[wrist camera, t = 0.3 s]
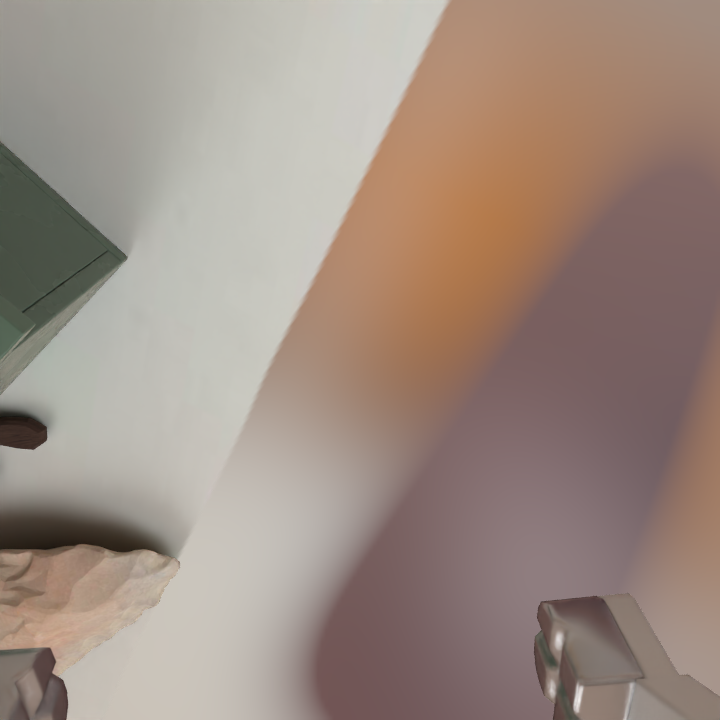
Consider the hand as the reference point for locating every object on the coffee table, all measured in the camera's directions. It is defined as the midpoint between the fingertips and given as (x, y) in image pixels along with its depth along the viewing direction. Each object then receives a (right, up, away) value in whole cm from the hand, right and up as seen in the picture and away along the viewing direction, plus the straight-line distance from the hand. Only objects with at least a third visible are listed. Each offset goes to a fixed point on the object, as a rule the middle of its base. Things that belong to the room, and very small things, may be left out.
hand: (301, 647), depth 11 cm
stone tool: (-23, -12, +27) cm, 38 cm away
